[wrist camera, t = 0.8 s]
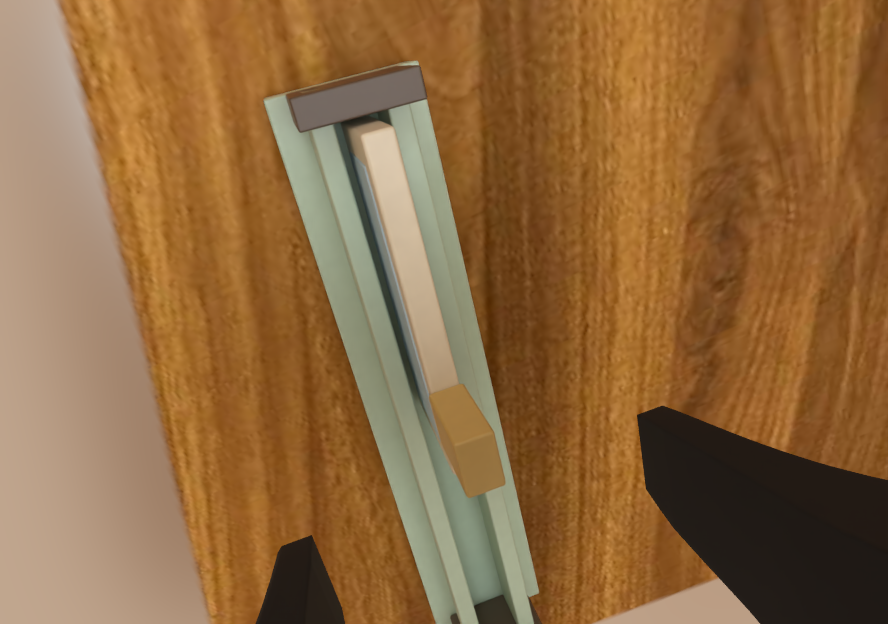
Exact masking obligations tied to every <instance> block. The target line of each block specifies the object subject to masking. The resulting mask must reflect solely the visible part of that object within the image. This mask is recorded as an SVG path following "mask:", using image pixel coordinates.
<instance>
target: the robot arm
mask: <svg viewBox="0 0 888 624" xmlns="http://www.w3.org/2000/svg"><path fill="white" fill-rule="evenodd" d="M637 418H638V426H639V435H640V443H641V451H642V459H643V468H644V476H645V484H646V490H647V491H648V492H649V494H650V495H651V497H652V498H653V500H654V501H655V503H656V504H657V506H658V507H659V508H660V510H661V511H662V513H663V514H664V515H665V517H666V518H667V520H668V521H669V522H670V524H671V525H672V526H673V528H674V529H675V530H676V531H677V532H678V533H679V535H680V536H681V537H682V538H683V539H684V540H685V541H686V542H687V543H688V545H689V546H690V547H691V548H692V549H693V550H694V551H695V552H696V553H697V554H698V556H699V557H700V558H701V559H702V560H703V561H704V562H705V563H706V564H707V565H708V566H709V568H710V569H711V570H712V571H713V572H714V573H715V574H716V575H717V576H718V577H719V578H720V579H721V580H722V582H723V583H724V584H725V585H726V586H727V587H728V588H729V589H730V590H731V591H732V592H733V594H734V595H736V597H737V598H738V599H739V600H740V601H741V602H742V603H743V604H744V605H745V607H746V608H747V609H748V610H749V611H750V612H751V613H752V615H753V616H754V617H755V618H756V619H757V620H758V622H759V623H760V624H888V480H884V479H880V478H875V477H871V476H867V475H863V474H859V473H855V472H851V471H847V470H843V469H839V468H835V467H831V466H828V465H825V464H821V463H818V462H814V461H811V460H808V459H805V458H802V457H799V456H795V455H792V454H789V453H786V452H783V451H780V450H777V449H774V448H771V447H769V446H766V445H763V444H760V443H758V442H755V441H752V440H749V439H747V438H744V437H742V436H739V435H736V434H734V433H731V432H729V431H726V430H723V429H721V428H718V427H716V426H713V425H711V424H708V423H706V422H703V421H701V420H699V419H696V418H694V417H691V416H689V415H686V414H684V413H681V412H678V411H676V410H673V409H670V408H668V407H665V406H660V407H657V408H655V409H652V410H649V411H647V412H644V413H641V414H638V415H637ZM256 624H345V621H344V616H343V611H342V607H341V604H340V602H339V600H338V597H337V595H336V592H335V590H334V588H333V585H332V583H331V580H330V578H329V576H328V573H327V571H326V568H325V566H324V564H323V561H322V559H321V556H320V554H319V552H318V549H317V547H316V544H315V542H314V540H313V537H312V535H311V536H308V537H305V538H303V539H300V540H297V541H295V542H292V543H289V544H287V545H284V546H282V547H281V548H280V550H279V552H278V555H277V558H276V562H275V566H274V569H273V573H272V576H271V580H270V583H269V586H268V589H267V592H266V595H265V599H264V602H263V605H262V608H261V610H260V613H259V616H258V619H257V622H256Z"/></svg>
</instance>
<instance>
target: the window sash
mask: <svg viewBox="0 0 888 624" xmlns="http://www.w3.org/2000/svg"><path fill="white" fill-rule="evenodd" d="M341 126H342V130H343V133H344V137H345V140H346V144H347V147H348V151H349V154H350V158H351V161H352V165H353V168H354V172H355V175H356V179H357V182H358V186H359V189H360V193H361V196H362V200H363V203H364V207H365V210H366V214H367V217H368V221H369V224H370V228H371V231H372V235H373V238H374V242H375V245H376V249H377V252H378V256H379V259H380V263H381V266H382V270H383V273H384V277H385V280H386V284H387V287H388V291H389V294H390V298H391V301H392V305H393V308H394V312H395V315H396V319H397V322H398V326H399V329H400V333H401V336H402V340H403V343H404V347H405V350H406V354H407V357H408V361H409V364H410V368H411V371H412V375H413V378H414V382H415V385H416V389H417V392H418V396H419V399H420V402H421V406H422V408H423V410H424V413H425V415H426V417H427V419H428V421H429V423H430V425H431V428H432V430H433V432H434V434H435V436H436V438H437V440H438V443H439V445H440V447H441V449H442V451H443V453H444V455H445V458H446V460H447V462H448V464H449V466H450V468H451V470H452V472H453V474H455V475H457V477H458V479H459V482H460V484H461V486H462V488H463V490H464V492H465V494H466V496H467V497H468V498H472V497H475V496H477V495H480V494H483V493H485V492H488V491H491V490H493V489H496V488H499V487H502V486H504V485H505V484H506V480H505V476H504V472H503V468H502V463H501V459H500V455H499V450H498V446H497V442H496V438H495V433H494V431H493V429H492V428H491V426H490V425H489V423H488V422H487V420H486V418H485V417H484V415H483V414H482V412H481V410H480V409H479V407H478V406H477V404H476V403H475V401H474V399H473V398H472V396H471V395H470V393H469V392H468V390H467V388H466V387H465V385H464V384H459V381H458V377H457V373H456V369H455V365H454V361H453V357H452V353H451V349H450V345H449V341H448V337H447V333H446V329H445V325H444V321H443V317H442V313H441V309H440V305H439V301H438V297H437V293H436V290H435V286H434V282H433V278H432V274H431V270H430V266H429V262H428V258H427V254H426V250H425V246H424V242H423V238H422V234H421V230H420V226H419V222H418V218H417V214H416V210H415V206H414V202H413V198H412V194H411V191H410V187H409V183H408V179H407V175H406V171H405V167H404V163H403V159H402V155H401V151H400V147H399V143H398V139H397V135H396V131H395V128H394V127H393V126H391V125H389V124H386V123H384V122H382V121H380V120H377V119H375V118H373V117H370V116H368V115H366V116H362V117H359V118H355V119H351V120H348V121H344V122H341Z"/></svg>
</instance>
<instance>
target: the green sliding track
mask: <svg viewBox="0 0 888 624" xmlns="http://www.w3.org/2000/svg"><path fill="white" fill-rule="evenodd" d="M264 105H265V108H266V111H267V114H268V117H269V120H270V123H271V126H272V129H273V132H274V135H275V138H276V141H277V144H278V147H279V150H280V153H281V156H282V159H283V162H284V166H285V169H286V172H287V175H288V178H289V181H290V184H291V187H292V190H293V193H294V196H295V199H296V202H297V205H298V208H299V211H300V214H301V217H302V220H303V223H304V226H305V229H306V232H307V235H308V238H309V241H310V244H311V247H312V250H313V253H314V256H315V259H316V262H317V265H318V268H319V271H320V274H321V277H322V280H323V283H324V287H325V290H326V293H327V296H328V299H329V302H330V305H331V308H332V311H333V314H334V317H335V320H336V323H337V326H338V329H339V332H340V335H341V338H342V341H343V344H344V347H345V350H346V353H347V356H348V359H349V362H350V365H351V368H352V371H353V374H354V377H355V380H356V383H357V386H358V389H359V392H360V395H361V398H362V401H363V404H364V407H365V411H366V414H367V417H368V420H369V423H370V426H371V429H372V432H373V435H374V438H375V441H376V444H377V447H378V450H379V453H380V456H381V459H382V462H383V465H384V468H385V471H386V474H387V477H388V480H389V483H390V486H391V489H392V492H393V495H394V498H395V501H396V504H397V507H398V510H399V513H400V516H401V519H402V522H403V525H404V528H405V532H406V535H407V538H408V541H409V544H410V547H411V550H412V553H413V556H414V559H415V562H416V565H417V568H418V571H419V574H420V577H421V580H422V583H423V586H424V589H425V592H426V595H427V598H428V601H429V604H430V607H431V610H432V613H433V616H434V619H435V622H436V624H542V623H541V621H540V619H539V617H538V615H537V613H536V611H535V609H534V607H533V605H532V603H531V601H530V599H529V597H531V596H533V595H536V594H538V593H539V589H538V585H537V581H536V576H535V572H534V567H533V563H532V559H531V554H530V550H529V545H528V541H527V537H526V532H525V528H524V524H523V519H522V515H521V510H520V506H519V502H518V497H517V493H516V488H515V484H514V480H513V475H512V471H511V466H510V462H509V458H508V453H507V449H506V445H505V440H504V436H503V431H502V427H501V423H500V418H499V414H498V409H497V405H496V401H495V396H494V392H493V387H492V383H491V379H490V374H489V370H488V366H487V361H486V357H485V352H484V348H483V344H482V339H481V335H480V330H479V326H478V322H477V317H476V313H475V308H474V304H473V300H472V295H471V291H470V287H469V282H468V278H467V273H466V269H465V265H464V260H463V256H462V251H461V247H460V243H459V238H458V234H457V229H456V225H455V221H454V216H453V212H452V208H451V203H450V199H449V194H448V190H447V186H446V181H445V177H444V172H443V168H442V164H441V159H440V155H439V150H438V146H437V142H436V137H435V133H434V129H433V124H432V120H431V115H430V111H429V107H428V102H427V94H426V89H425V85H424V80H423V76H422V71H421V67H420V66H419V63H418V61H406V62H402V63H398V64H394V65H391V66H387V67H383V68H379V69H375V70H371V71H367V72H363V73H359V74H356V75H352V76H348V77H344V78H340V79H336V80H332V81H328V82H324V83H321V84H317V85H313V86H309V87H305V88H301V89H297V90H293V91H289V92H286V93H282V94H278V95H274V96H270V97H266V98H264ZM366 115H368V116H370V117H373V118H375V119H377V120H380V121H382V122H384V123H386V124H389V125H391V126H393V127H394V128H395V131H396V135H397V139H398V143H399V147H400V151H401V155H402V159H403V163H404V167H405V171H406V175H407V179H408V183H409V187H410V191H411V194H412V198H413V202H414V206H415V210H416V214H417V218H418V222H419V226H420V230H421V234H422V238H423V242H424V246H425V250H426V254H427V258H428V262H429V266H430V270H431V274H432V278H433V282H434V286H435V290H436V293H437V297H438V301H439V305H440V309H441V313H442V317H443V321H444V325H445V329H446V333H447V337H448V341H449V345H450V349H451V353H452V357H453V361H454V365H455V369H456V373H457V377H458V381H459V384H464V385H465V387H466V388H467V390H468V392H469V393H470V395H471V396H472V398H473V399H474V401H475V403H476V404H477V406H478V407H479V409H480V410H481V412H482V414H483V415H484V417H485V418H486V420H487V422H488V423H489V425H490V426H491V428H492V429H493V431H494V433H495V438H496V442H497V446H498V450H499V455H500V459H501V463H502V468H503V472H504V476H505V480H506V484H505V485H504V486H502V487H499V488H496V489H493V490H491V491H488V492H485V493H483V494H480V495H477V496H475V497H472V498H468V497H467V496H466V494H465V492H464V490H463V488H462V486H461V484H460V482H459V479H458V477H457V475H455V474H453V472H452V470H451V468H450V466H449V464H448V462H447V460H446V458H445V455H444V453H443V451H442V449H441V447H440V445H439V443H438V440H437V438H436V436H435V434H434V432H433V430H432V428H431V425H430V423H429V421H428V419H427V417H426V415H425V413H424V410H423V408H422V406H421V402H420V399H419V396H418V392H417V389H416V385H415V382H414V378H413V375H412V371H411V368H410V364H409V361H408V357H407V354H406V350H405V347H404V343H403V340H402V336H401V333H400V329H399V326H398V322H397V319H396V315H395V312H394V308H393V305H392V301H391V298H390V294H389V291H388V287H387V284H386V280H385V277H384V273H383V270H382V266H381V263H380V259H379V256H378V252H377V249H376V245H375V242H374V238H373V235H372V231H371V228H370V224H369V221H368V217H367V214H366V210H365V207H364V203H363V200H362V196H361V193H360V189H359V186H358V182H357V179H356V175H355V172H354V168H353V165H352V161H351V158H350V154H349V151H348V147H347V144H346V140H345V137H344V133H343V130H342V126H341V122H344V121H348V120H351V119H355V118H359V117H362V116H366Z"/></svg>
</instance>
